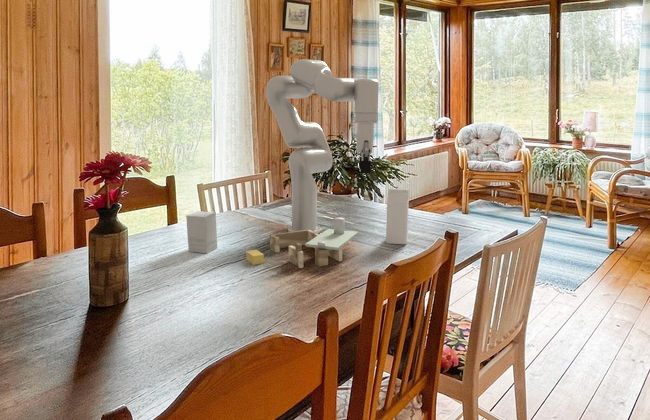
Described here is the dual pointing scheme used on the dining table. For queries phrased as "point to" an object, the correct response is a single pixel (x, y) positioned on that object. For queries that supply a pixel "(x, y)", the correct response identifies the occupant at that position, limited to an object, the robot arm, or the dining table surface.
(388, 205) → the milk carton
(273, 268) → the dining table surface
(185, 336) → the dining table surface
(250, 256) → the yellow rectangular block
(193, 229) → the supplement box
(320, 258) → the beige notched ring
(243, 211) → the dining table surface
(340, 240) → the cover
